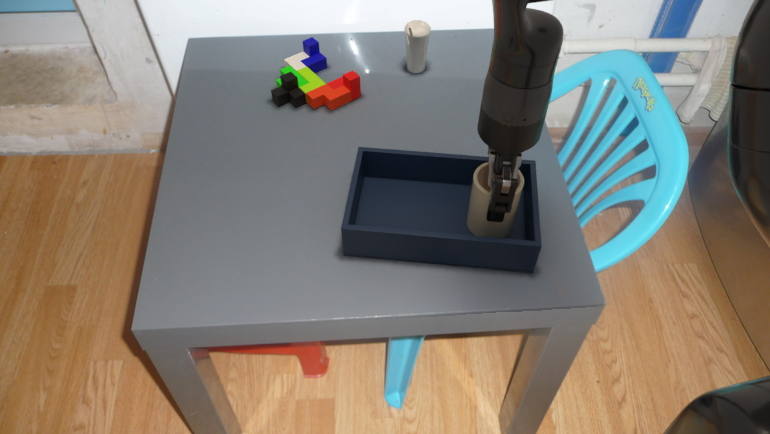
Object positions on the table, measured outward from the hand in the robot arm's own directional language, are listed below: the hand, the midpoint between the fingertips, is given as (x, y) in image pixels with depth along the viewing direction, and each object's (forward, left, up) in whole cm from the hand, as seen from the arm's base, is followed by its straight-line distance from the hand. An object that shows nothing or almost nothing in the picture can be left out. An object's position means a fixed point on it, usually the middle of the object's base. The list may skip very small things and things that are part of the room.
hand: (494, 199), depth 80 cm
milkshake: (+33, -18, -6) cm, 39 cm away
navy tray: (+5, +5, -5) cm, 9 cm away
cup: (0, 0, -5) cm, 5 cm away
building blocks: (+42, 0, -6) cm, 43 cm away
